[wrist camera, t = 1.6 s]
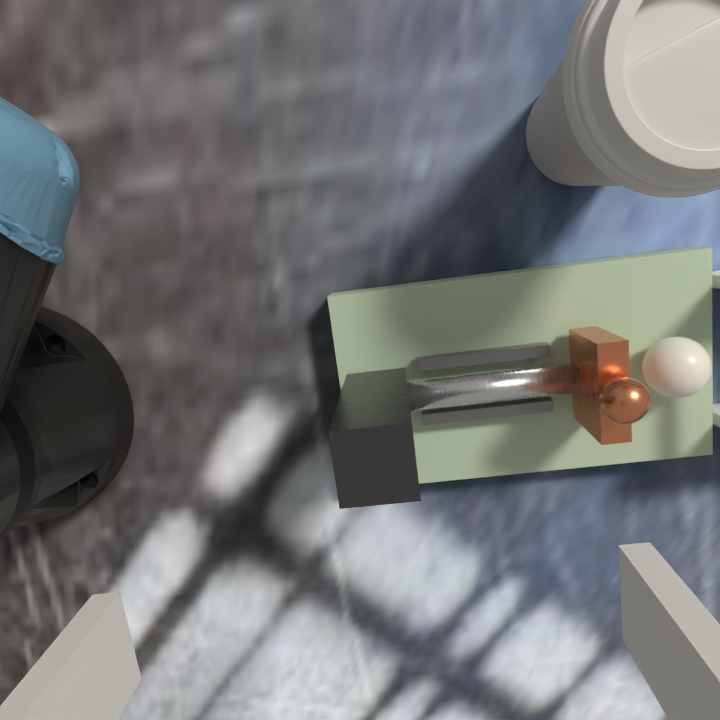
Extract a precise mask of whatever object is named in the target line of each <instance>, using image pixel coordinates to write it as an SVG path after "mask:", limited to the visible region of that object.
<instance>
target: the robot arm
mask: <svg viewBox="0 0 720 720" xmlns="http://www.w3.org/2000/svg"><path fill="white" fill-rule="evenodd" d="M79 186H80V174H79V168H78V165H77V162H76V160H75V157H74V155H73V154H72V152H71V150H70V149H69V147H68V146H67V145H66V144H65V142H64V141H63V140H62V139H61V138H60V137H59V136H58V135H56V134H55V133H54V132H53V131H51V130H50V129H49V128H47V127H46V126H44V125H43V124H42V123H40V122H39V121H37V120H36V119H34V118H33V117H31V116H30V115H28V114H27V113H25V112H23V111H22V110H20V109H19V108H17V107H16V106H14V105H12V104H11V103H9V102H8V101H6V100H5V99H3V98H1V97H0V536H1V535H2V534H3V533H5V532H7V531H11V530H14V529H18V528H21V527H25V526H28V525H31V524H35V523H38V522H42V521H45V520H49V519H52V518H55V517H59V516H61V515H64V514H66V513H68V512H70V511H72V510H74V509H76V508H78V507H80V506H81V505H83V504H84V503H86V502H87V501H88V500H90V499H91V498H92V497H93V496H94V495H96V494H97V493H98V492H99V491H100V490H101V489H102V488H104V487H105V486H106V485H107V484H108V483H109V482H110V481H111V480H112V479H113V478H114V476H115V475H116V474H117V472H118V471H119V470H120V468H121V466H122V465H123V463H124V461H125V459H126V457H127V454H128V451H129V448H130V445H131V441H132V436H133V427H134V414H133V405H132V400H131V395H130V392H129V388H128V385H127V383H126V380H125V378H124V375H123V373H122V371H121V369H120V368H119V366H118V364H117V363H116V361H115V359H114V358H113V357H112V355H111V354H110V352H109V351H108V350H107V349H106V347H105V346H104V345H103V344H102V343H101V342H100V341H99V340H98V339H97V338H96V337H95V336H94V335H93V334H92V333H90V332H89V331H88V330H87V329H85V328H84V327H83V326H81V325H80V324H78V323H77V322H75V321H74V320H72V319H70V318H68V317H66V316H64V315H62V314H60V313H57V312H55V311H52V310H49V309H46V308H42V307H40V306H41V304H42V301H43V299H44V296H45V293H46V291H47V288H48V286H49V283H50V280H51V278H52V275H53V273H54V270H55V267H56V265H57V264H61V263H62V261H63V258H64V250H63V248H62V245H63V242H64V238H65V234H66V231H67V227H68V224H69V220H70V217H71V214H72V211H73V208H74V204H75V201H76V198H77V195H78V191H79ZM619 565H620V586H621V607H622V628H623V641H624V643H625V645H626V646H627V648H628V650H629V652H630V653H631V655H632V657H633V659H634V660H635V662H636V664H637V666H638V667H639V669H640V671H641V672H642V674H643V676H644V678H645V679H646V681H647V683H648V685H649V686H650V688H651V690H652V691H653V693H654V695H655V697H656V698H657V700H658V702H659V704H660V705H661V707H662V709H663V710H664V712H665V714H666V716H667V717H668V719H669V720H720V624H719V623H718V622H717V621H716V619H715V618H714V617H713V616H712V615H711V614H710V612H709V611H708V610H707V609H706V608H705V606H704V605H703V604H702V603H701V602H700V601H699V599H698V598H697V597H696V596H695V595H694V594H693V592H692V591H691V590H690V589H689V588H688V587H687V585H686V584H685V583H684V582H683V581H682V579H681V578H680V577H679V576H678V575H677V574H676V572H675V571H674V570H673V569H672V568H671V567H670V565H669V564H668V563H667V562H666V561H665V559H664V558H663V557H662V556H661V555H660V554H659V552H658V551H657V550H656V549H655V548H654V547H653V545H652V544H651V543H650V542H649V543H638V544H628V545H619ZM141 680H142V679H141V675H140V671H139V667H138V663H137V659H136V655H135V651H134V647H133V643H132V639H131V635H130V631H129V627H128V623H127V619H126V615H125V611H124V607H123V604H122V600H121V596H120V592H117V593H106V594H95V595H92V596H91V597H90V599H89V600H88V601H87V602H86V603H85V605H84V606H83V607H82V608H81V609H80V611H79V612H78V613H77V614H76V615H75V617H74V618H73V619H72V620H71V621H70V623H69V624H68V625H67V626H66V627H65V629H64V630H63V631H62V632H61V633H60V635H59V636H58V637H57V638H56V639H55V641H54V642H53V643H52V644H51V645H50V647H49V648H48V649H47V650H46V651H45V653H44V654H43V655H42V656H41V658H40V659H39V660H38V661H37V662H36V664H35V665H34V666H33V667H32V668H31V670H30V671H29V672H28V673H27V674H26V676H25V677H24V678H23V679H22V680H21V682H20V683H19V684H18V685H17V686H16V688H15V689H14V690H13V691H12V692H11V694H10V695H9V696H8V697H7V698H6V700H5V701H4V702H3V703H2V704H1V706H0V720H119V719H120V717H121V715H122V714H123V712H124V710H125V708H126V706H127V705H128V703H129V701H130V699H131V698H132V696H133V694H134V692H135V690H136V689H137V687H138V685H139V683H140V681H141Z"/></svg>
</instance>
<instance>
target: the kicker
mask: <svg viewBox="0 0 720 720" xmlns="http://www.w3.org/2000/svg"><path fill="white" fill-rule="evenodd" d="M569 345H570V362H571V363H570V364H561V365H553V366H544V367H535V368H526V369H517V370H509V371H500V372H491V373H482V374H473V375H465V376H456V377H447V378H438V379H429V380H421V381H412V382H407V376H406V368H405V367H404V368H396V369H387V370H378V371H370V372H361V373H352V374H347V375H346V378H345V381H344V384H343V387H342V390H341V394H340V397H339V400H338V403H337V406H336V409H335V412H334V415H333V419H332V422H331V425H330V428H329V431H328V434H329V440H330V447H331V454H332V460H333V467H334V474H335V480H336V487H337V494H338V500H339V507H340V509H342V508H352V507H363V506H373V505H383V504H394V503H404V502H414V501H421V497H420V488H419V480H418V471H417V462H416V454H415V445H414V436H413V428H412V419H411V411H419V410H428V409H438V408H447V407H456V406H465V405H474V404H483V403H492V402H502V401H511V400H520V399H529V398H538V397H547V396H556V395H566V394H572V398H573V416H574V418H575V419H576V420H577V421H578V422H579V423H580V424H581V425H582V426H583V427H584V428H585V429H586V430H587V431H588V432H589V433H590V434H591V435H592V436H593V437H594V438H595V439H596V440H597V441H598V442H599V443H600V444H601V445H608V444H618V443H628V442H632V423H634V422H637V421H639V420H640V419H642V418H643V417H644V416H645V415H646V414H647V412H648V410H649V408H650V403H651V399H650V394H649V392H648V390H647V388H646V387H645V386H644V385H643V384H642V383H641V382H640V381H638V380H636V379H634V378H631V377H630V364H629V340H627V339H625V338H622V337H620V336H618V335H616V334H613V333H611V332H609V331H606V330H604V329H602V328H599V327H597V326H591V327H583V328H575V329H569Z"/></svg>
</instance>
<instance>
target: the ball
mask: <svg viewBox="0 0 720 720" xmlns="http://www.w3.org/2000/svg"><path fill="white" fill-rule="evenodd" d="M642 372H643V376H644V379H645V381H646V382H647V384H648V385H649V386H650V387H651V388H652V389H653V390H654V391H656V392H657V393H659V394H661V395H663V396H666V397H670V398H684V397H689V396H692V395H694V394H696V393H698V392H699V391H701V390H702V389H703V388H704V387H705V386H706V385H707V383H708V382H709V380H710V378H711V375H712V361H711V358H710V355H709V354H708V352H707V351H706V349H705V348H704V347H703V346H702V345H701V344H699V343H698V342H696V341H694V340H692V339H689V338H685V337H669V338H665V339H662V340H660V341H658V342H656V343H655V344H654V345H652V346H651V347H650V348H649V349H648V351H647V352H646V354H645V356H644V358H643V362H642Z"/></svg>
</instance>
